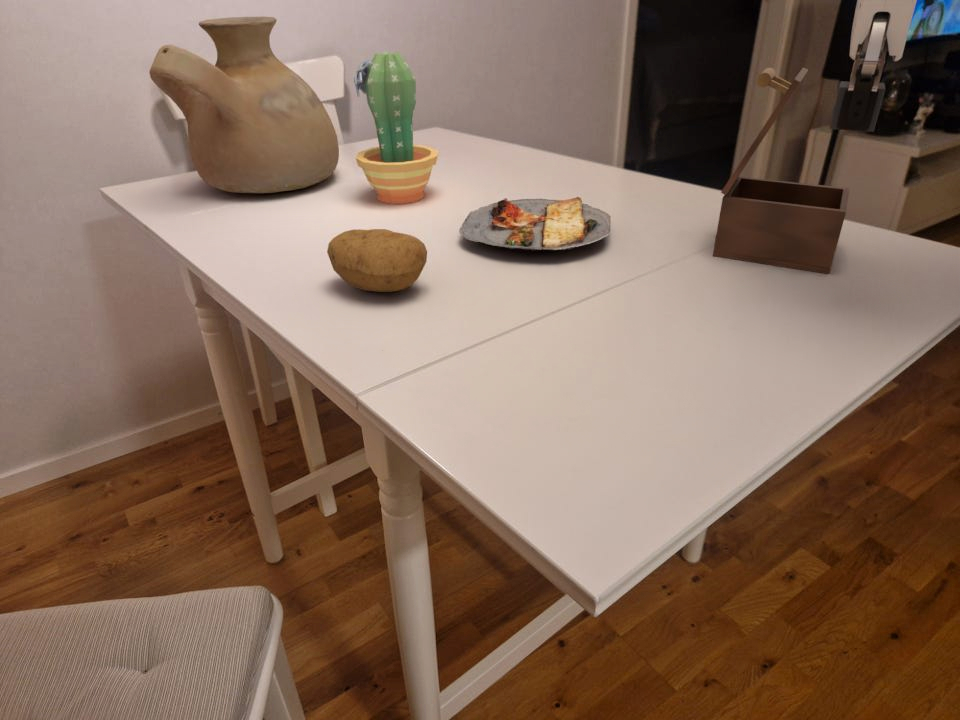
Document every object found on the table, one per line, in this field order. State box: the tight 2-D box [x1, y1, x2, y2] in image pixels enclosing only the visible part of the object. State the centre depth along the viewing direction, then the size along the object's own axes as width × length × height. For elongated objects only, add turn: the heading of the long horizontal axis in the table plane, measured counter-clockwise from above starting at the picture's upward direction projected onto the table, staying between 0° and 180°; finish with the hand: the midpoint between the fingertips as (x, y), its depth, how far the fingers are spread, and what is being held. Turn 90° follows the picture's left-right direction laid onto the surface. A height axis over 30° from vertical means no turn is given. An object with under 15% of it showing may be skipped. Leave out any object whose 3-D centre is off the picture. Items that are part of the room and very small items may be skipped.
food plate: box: [458, 196, 612, 252], centre depth 105 cm, size 25×23×4 cm
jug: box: [148, 16, 340, 194], centre depth 126 cm, size 29×34×30 cm
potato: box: [326, 228, 428, 293], centre depth 87 cm, size 10×14×8 cm
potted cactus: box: [353, 51, 439, 205], centre depth 119 cm, size 15×15×25 cm
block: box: [829, 80, 886, 133], centre depth 73 cm, size 4×4×4 cm
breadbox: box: [712, 176, 851, 275], centre depth 96 cm, size 16×12×9 cm
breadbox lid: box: [720, 67, 809, 196], centre depth 92 cm, size 16×12×5 cm
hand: (852, 123), depth 74 cm, fingers closed on block, 4 cm apart
